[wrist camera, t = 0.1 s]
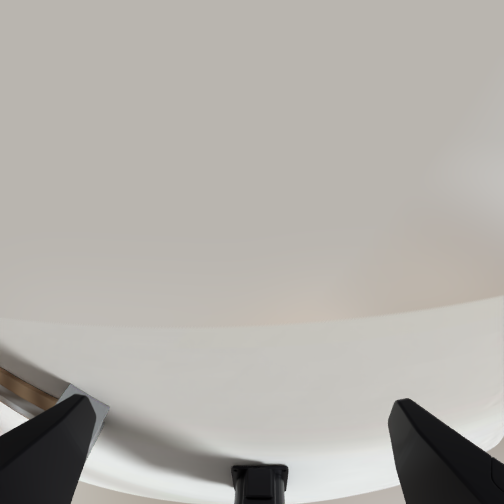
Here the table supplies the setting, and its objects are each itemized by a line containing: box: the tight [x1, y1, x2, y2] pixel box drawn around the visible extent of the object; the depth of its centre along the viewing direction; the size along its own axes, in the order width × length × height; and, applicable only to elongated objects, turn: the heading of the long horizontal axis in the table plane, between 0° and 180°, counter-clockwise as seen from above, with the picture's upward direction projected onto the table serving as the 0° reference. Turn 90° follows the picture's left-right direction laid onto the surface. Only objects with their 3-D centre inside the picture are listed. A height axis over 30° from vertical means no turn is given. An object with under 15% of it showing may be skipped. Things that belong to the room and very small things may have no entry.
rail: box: [0, 367, 59, 420], centre depth 27 cm, size 19×8×4 cm, turn 77°
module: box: [55, 384, 110, 462], centre depth 22 cm, size 6×4×11 cm
